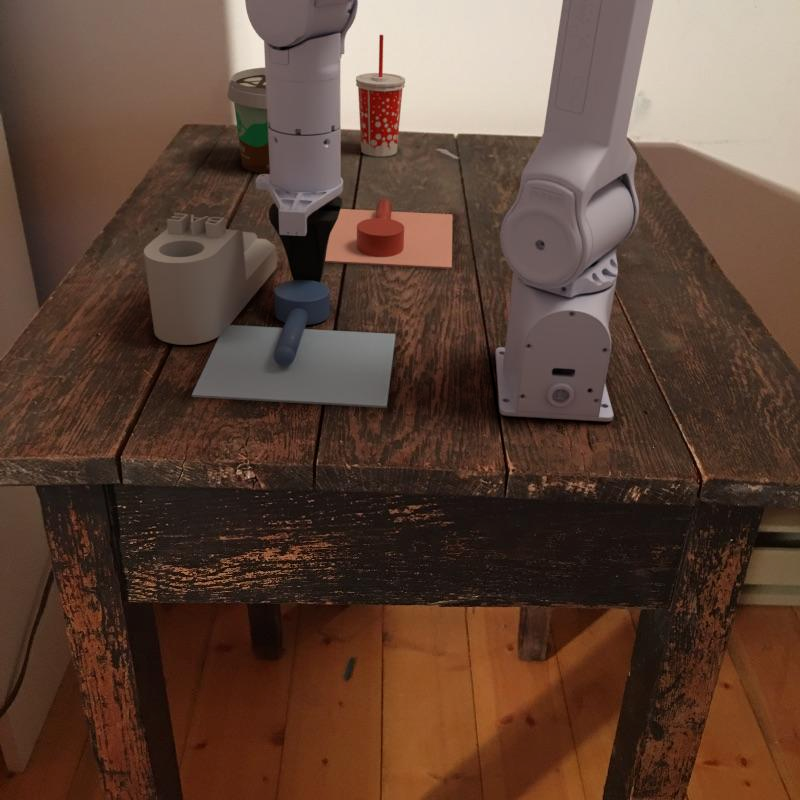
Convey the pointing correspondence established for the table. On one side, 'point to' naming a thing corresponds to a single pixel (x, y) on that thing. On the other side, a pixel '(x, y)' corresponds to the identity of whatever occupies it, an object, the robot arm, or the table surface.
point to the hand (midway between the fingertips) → (307, 283)
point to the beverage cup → (379, 109)
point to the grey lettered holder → (203, 277)
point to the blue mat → (300, 368)
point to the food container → (251, 118)
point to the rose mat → (421, 240)
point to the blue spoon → (298, 314)
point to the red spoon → (380, 233)
